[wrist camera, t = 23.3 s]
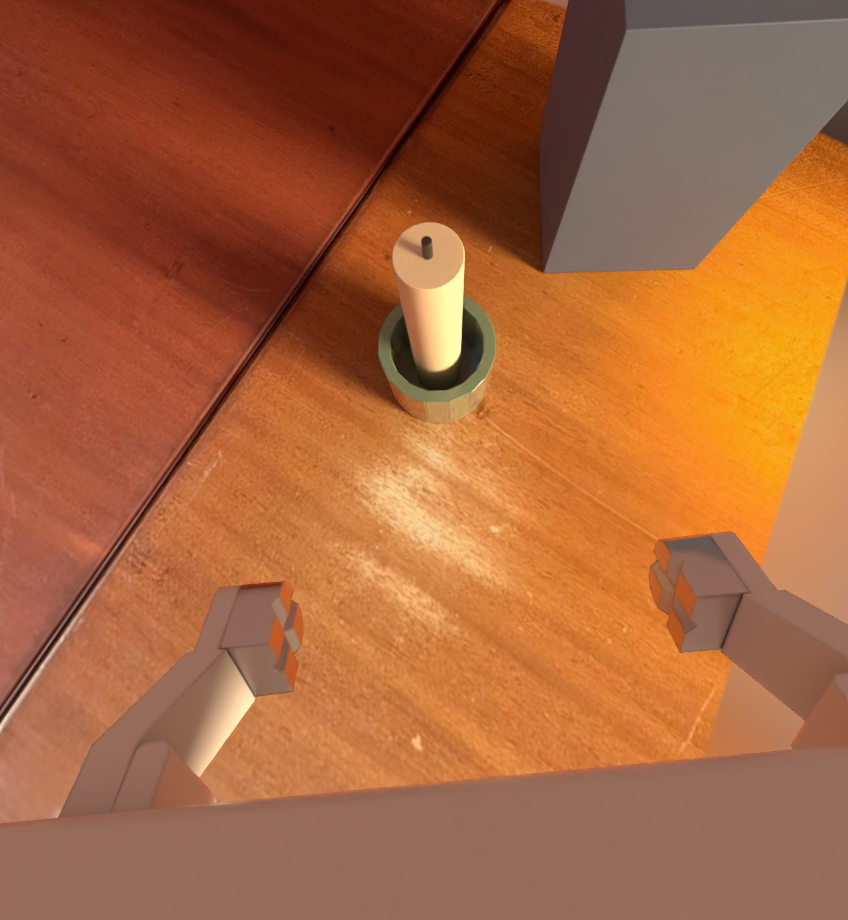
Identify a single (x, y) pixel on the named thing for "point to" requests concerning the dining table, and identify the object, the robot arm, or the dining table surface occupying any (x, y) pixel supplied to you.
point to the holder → (473, 367)
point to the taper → (432, 299)
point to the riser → (678, 122)
